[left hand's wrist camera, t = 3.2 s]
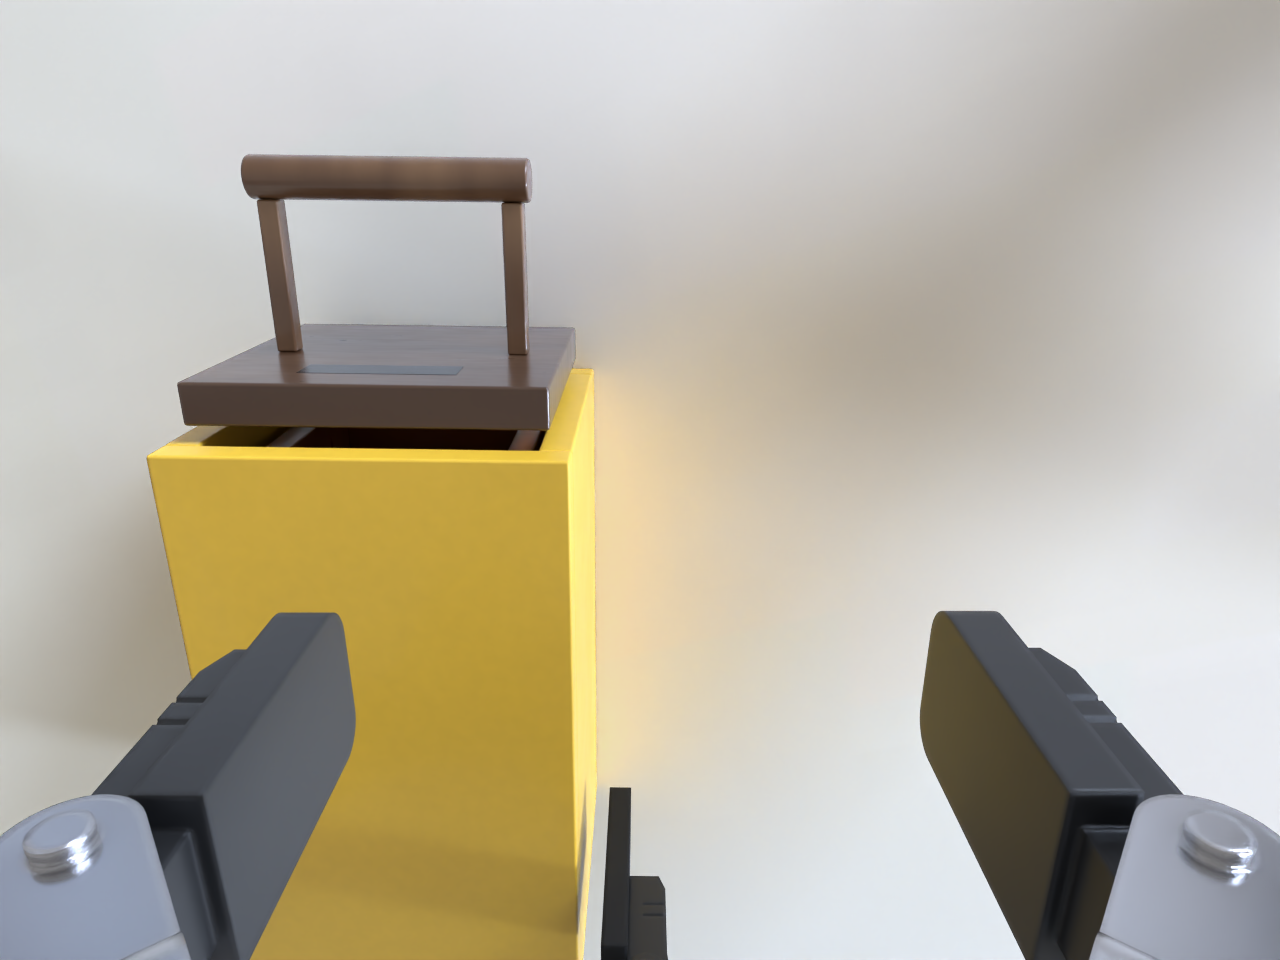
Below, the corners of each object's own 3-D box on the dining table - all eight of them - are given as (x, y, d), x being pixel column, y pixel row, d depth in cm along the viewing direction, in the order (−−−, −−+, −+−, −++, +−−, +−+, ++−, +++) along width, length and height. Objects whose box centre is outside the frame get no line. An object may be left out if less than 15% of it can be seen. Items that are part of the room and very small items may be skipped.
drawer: (281, 155, 28) (132, 151, 20) (572, 159, 28) (542, 157, 20) (356, 746, 36) (273, 913, 28) (581, 749, 36) (562, 917, 28)
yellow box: (302, 364, 32) (144, 455, 22) (593, 368, 32) (569, 461, 22) (357, 785, 38) (256, 1002, 28) (596, 788, 38) (579, 1007, 28)
